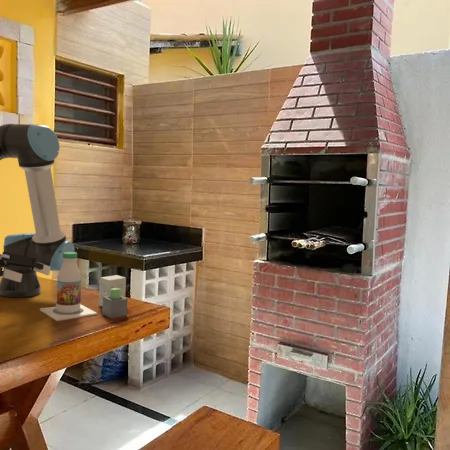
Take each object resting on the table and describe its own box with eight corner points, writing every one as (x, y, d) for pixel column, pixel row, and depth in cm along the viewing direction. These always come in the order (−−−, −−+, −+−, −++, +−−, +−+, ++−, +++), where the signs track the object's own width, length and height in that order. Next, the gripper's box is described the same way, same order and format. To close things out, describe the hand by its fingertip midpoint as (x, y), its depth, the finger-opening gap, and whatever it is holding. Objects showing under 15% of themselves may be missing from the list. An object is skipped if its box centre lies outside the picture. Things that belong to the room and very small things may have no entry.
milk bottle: (52, 309, 157) (53, 251, 155) (73, 306, 163) (75, 250, 161) (62, 315, 152) (64, 255, 150) (84, 311, 157) (86, 253, 155)
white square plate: (39, 310, 158) (39, 308, 158) (78, 304, 167) (78, 303, 167) (56, 321, 148) (56, 318, 147) (96, 314, 157) (96, 312, 157)
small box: (115, 302, 174) (117, 274, 174) (125, 305, 171) (126, 277, 170) (98, 305, 168) (99, 277, 167) (107, 308, 165) (108, 280, 164)
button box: (102, 313, 158) (103, 296, 158) (117, 311, 162) (118, 294, 162) (110, 318, 154) (111, 300, 153) (126, 315, 158) (127, 298, 157)
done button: (107, 302, 158) (108, 288, 157) (117, 301, 160) (117, 287, 160) (112, 305, 155) (113, 290, 155) (122, 304, 158) (123, 289, 157)
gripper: (-55, 274, 137) (7, 291, 154) (-2, 258, 126) (60, 279, 142) (-49, 251, 140) (11, 270, 157) (4, 233, 129) (63, 256, 145)
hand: (34, 274), depth 150 cm, fingers open, 13 cm apart
